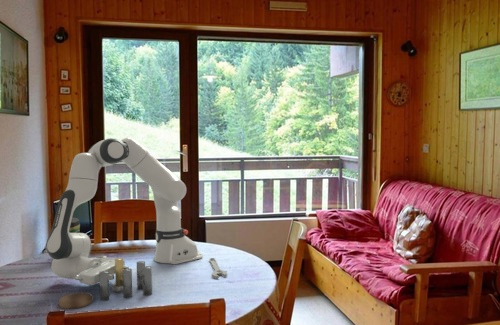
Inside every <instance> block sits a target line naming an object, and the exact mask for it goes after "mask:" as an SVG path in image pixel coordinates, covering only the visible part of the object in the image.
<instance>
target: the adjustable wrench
mask: <svg viewBox="0 0 500 325" xmlns="http://www.w3.org/2000/svg"><path fill="white" fill-rule="evenodd" d="M209 263H210V265H211V268H212V269H213V272H212V273H211V278H212V279H215V278H217V279H216V280H218V278H219V279H220V276H222V277H223V276H224V277H223V278H226V277H227V274H228V273H227V272H228V271H227V270H224V269H223V270H222V269H221V268H220V266H219V265H218V262H217V260H216V258H214V257H213V258H209ZM219 275H220V276H219Z"/></svg>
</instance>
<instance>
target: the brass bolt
mask: <svg viewBox="0 0 500 325" xmlns="http://www.w3.org/2000/svg"><path fill="white" fill-rule="evenodd" d="M123 260H124V258H122V257H117V259H115V274H114V280H115V283H113V284H112V285H111V292H112V293H114V294H123Z"/></svg>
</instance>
